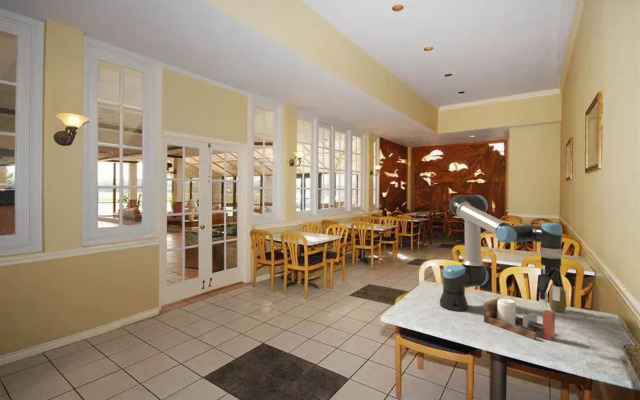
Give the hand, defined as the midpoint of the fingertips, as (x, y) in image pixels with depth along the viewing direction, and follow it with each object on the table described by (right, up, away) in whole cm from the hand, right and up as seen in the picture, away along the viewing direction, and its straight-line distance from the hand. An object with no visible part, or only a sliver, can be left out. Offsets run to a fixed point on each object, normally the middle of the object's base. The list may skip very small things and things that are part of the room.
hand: (549, 303), depth 146 cm
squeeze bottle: (+29, -15, +33) cm, 47 cm away
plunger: (-2, -16, +4) cm, 16 cm away
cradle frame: (-8, -16, +13) cm, 22 cm away
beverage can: (-10, -16, +16) cm, 25 cm away
